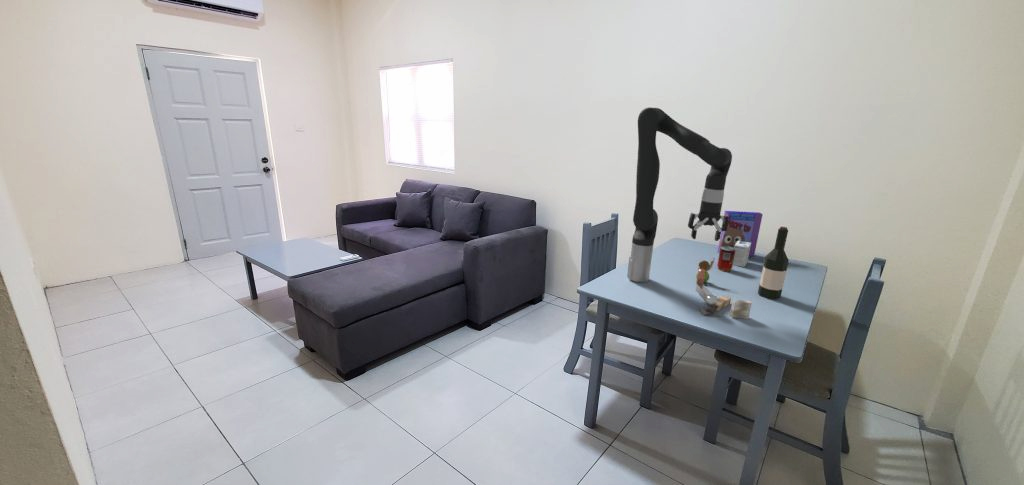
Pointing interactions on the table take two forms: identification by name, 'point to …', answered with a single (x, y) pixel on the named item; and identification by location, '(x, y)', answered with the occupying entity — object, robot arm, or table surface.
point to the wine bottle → (774, 268)
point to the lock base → (737, 309)
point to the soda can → (726, 258)
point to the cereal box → (741, 229)
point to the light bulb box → (741, 253)
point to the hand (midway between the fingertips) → (704, 239)
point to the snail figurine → (705, 268)
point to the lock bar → (704, 289)
